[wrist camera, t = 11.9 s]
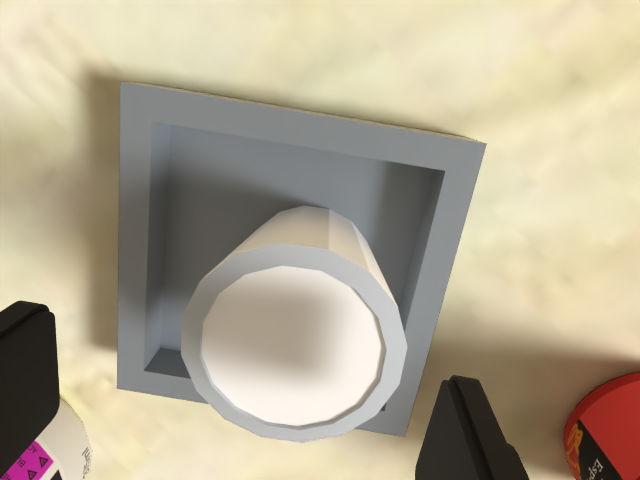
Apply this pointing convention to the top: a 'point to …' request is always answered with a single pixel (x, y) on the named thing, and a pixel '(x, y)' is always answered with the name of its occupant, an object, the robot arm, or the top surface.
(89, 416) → the top surface
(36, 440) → the supplement can
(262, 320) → the shot glass
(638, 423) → the canned food
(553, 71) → the top surface
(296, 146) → the tray
